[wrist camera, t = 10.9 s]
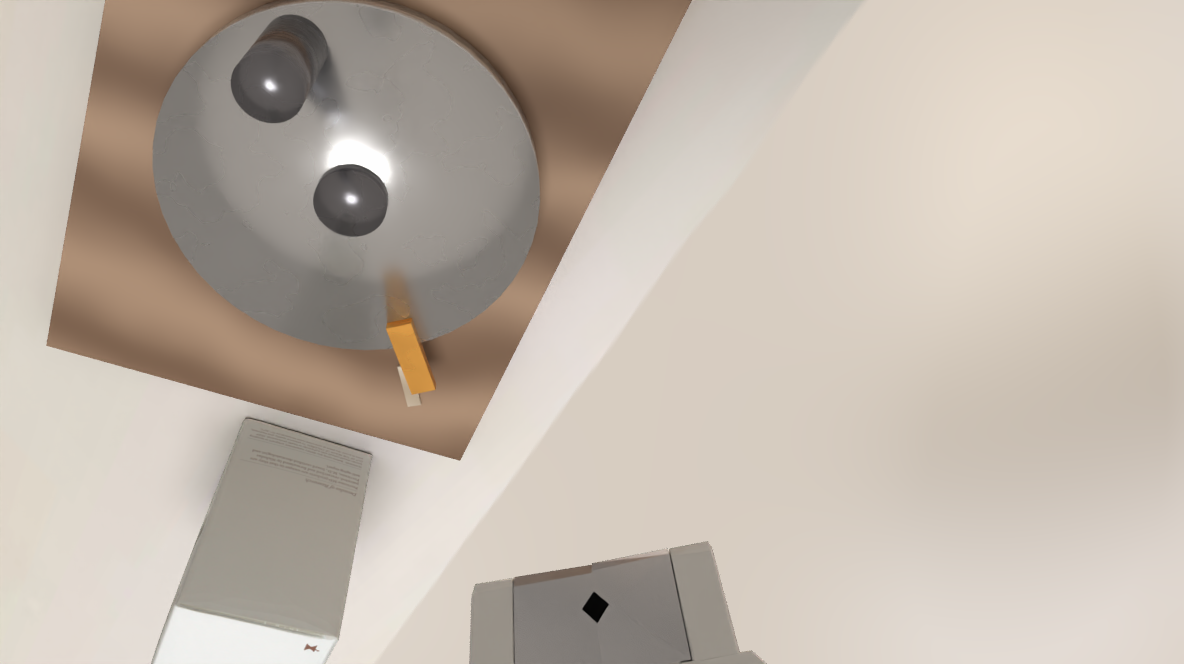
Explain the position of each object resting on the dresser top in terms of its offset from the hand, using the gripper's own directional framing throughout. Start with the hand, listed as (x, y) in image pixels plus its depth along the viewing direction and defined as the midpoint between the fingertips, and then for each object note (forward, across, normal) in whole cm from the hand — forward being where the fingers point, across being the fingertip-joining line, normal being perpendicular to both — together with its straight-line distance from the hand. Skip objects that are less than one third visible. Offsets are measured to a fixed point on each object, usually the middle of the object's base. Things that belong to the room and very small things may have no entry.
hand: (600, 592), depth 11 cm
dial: (+29, +9, +7) cm, 31 cm away
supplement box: (+31, +19, +23) cm, 43 cm away
